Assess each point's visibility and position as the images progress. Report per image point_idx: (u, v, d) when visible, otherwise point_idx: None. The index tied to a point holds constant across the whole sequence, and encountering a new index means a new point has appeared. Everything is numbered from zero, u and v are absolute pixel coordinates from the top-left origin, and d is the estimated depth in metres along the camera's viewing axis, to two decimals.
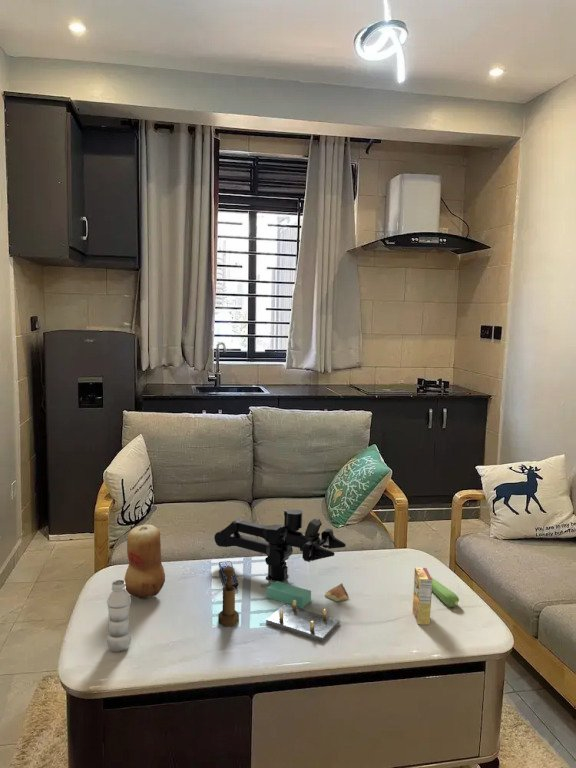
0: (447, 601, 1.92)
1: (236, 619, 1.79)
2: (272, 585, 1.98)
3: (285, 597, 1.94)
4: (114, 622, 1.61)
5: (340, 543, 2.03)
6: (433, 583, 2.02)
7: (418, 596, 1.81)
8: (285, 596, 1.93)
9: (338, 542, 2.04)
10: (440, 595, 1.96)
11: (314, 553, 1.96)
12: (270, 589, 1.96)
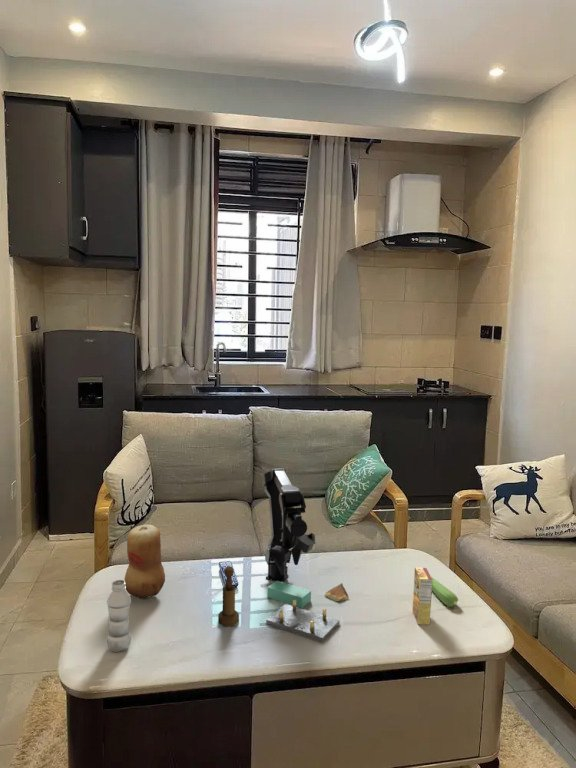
0: (446, 601, 1.92)
1: (236, 619, 1.79)
2: (272, 585, 1.99)
3: (284, 597, 1.94)
4: (114, 622, 1.61)
5: (296, 560, 1.99)
6: (433, 583, 2.03)
7: (418, 596, 1.81)
8: (285, 596, 1.93)
9: (297, 557, 1.99)
10: (439, 595, 1.96)
11: None
12: (270, 589, 1.97)
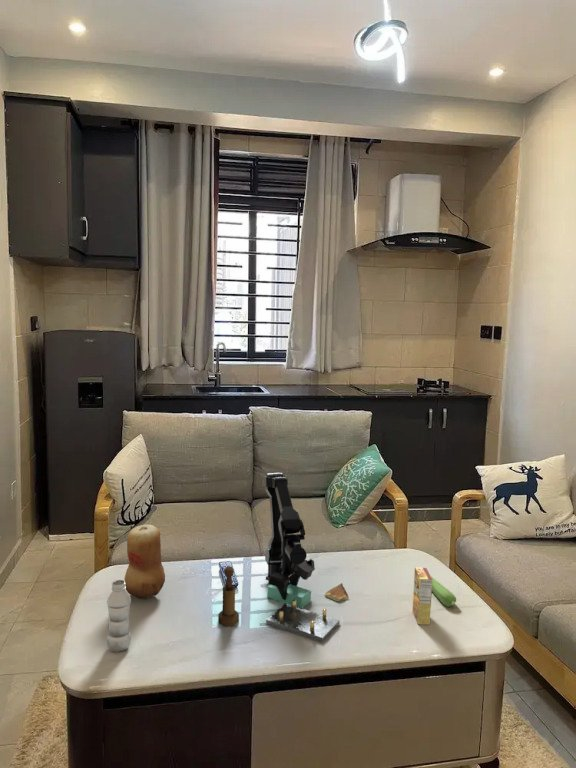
0: (444, 601, 1.93)
1: (236, 619, 1.79)
2: None
3: None
4: (114, 622, 1.61)
5: None
6: (432, 583, 2.03)
7: (418, 596, 1.81)
8: None
9: (295, 584, 1.99)
10: (438, 595, 1.96)
11: None
12: (270, 589, 1.97)
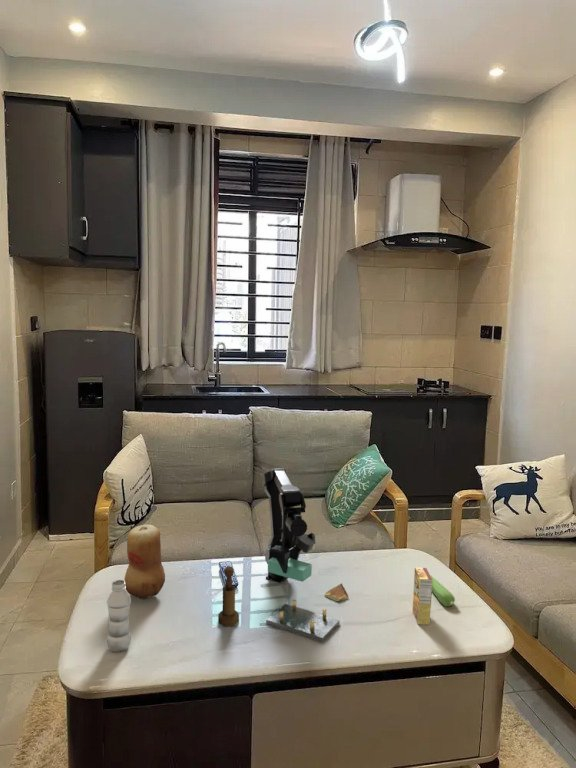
0: (443, 600, 1.93)
1: (236, 619, 1.79)
2: (273, 559, 1.97)
3: None
4: (114, 622, 1.61)
5: None
6: (432, 582, 2.03)
7: (418, 596, 1.81)
8: None
9: (295, 559, 1.97)
10: (437, 594, 1.97)
11: None
12: (270, 563, 1.96)
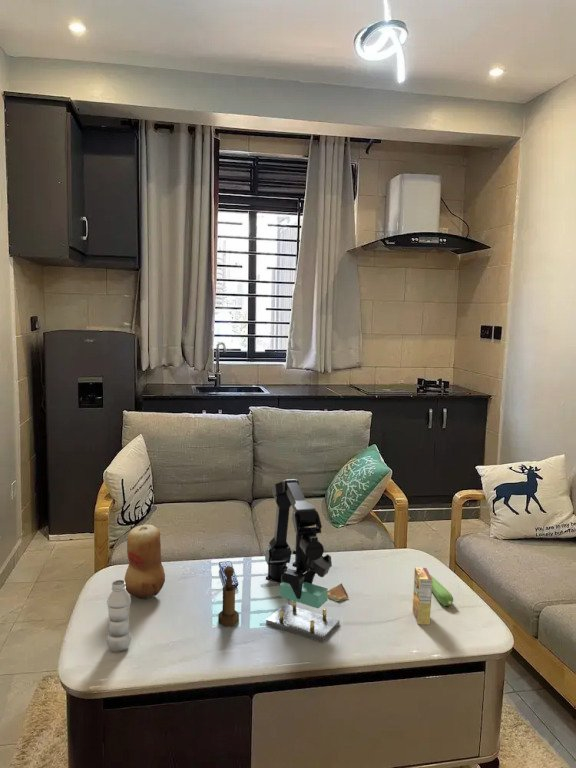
0: (441, 600, 1.93)
1: (236, 619, 1.79)
2: None
3: None
4: (114, 622, 1.61)
5: None
6: None
7: (418, 596, 1.81)
8: None
9: (309, 582, 1.81)
10: (436, 594, 1.97)
11: None
12: (282, 587, 1.79)
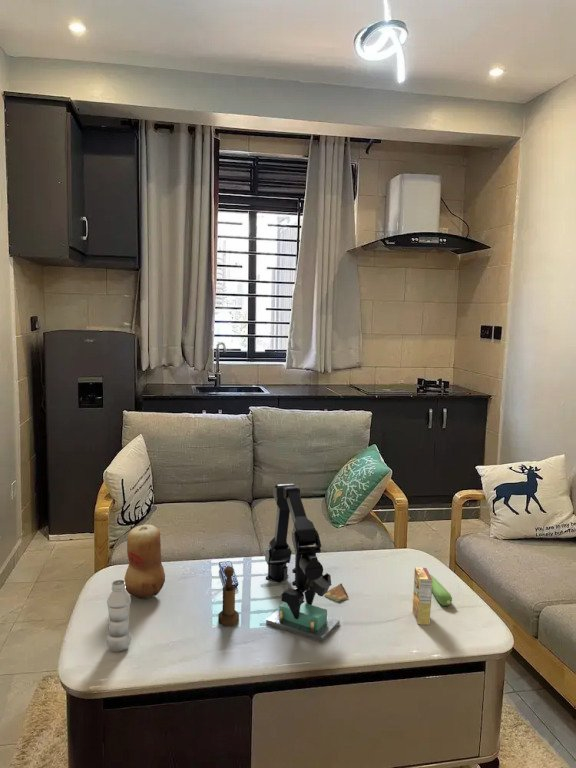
0: (440, 600, 1.93)
1: (236, 619, 1.79)
2: (284, 603, 1.82)
3: None
4: (114, 622, 1.61)
5: (310, 602, 1.83)
6: None
7: (418, 596, 1.81)
8: (299, 616, 1.77)
9: (310, 599, 1.83)
10: (435, 593, 1.97)
11: None
12: (282, 608, 1.80)
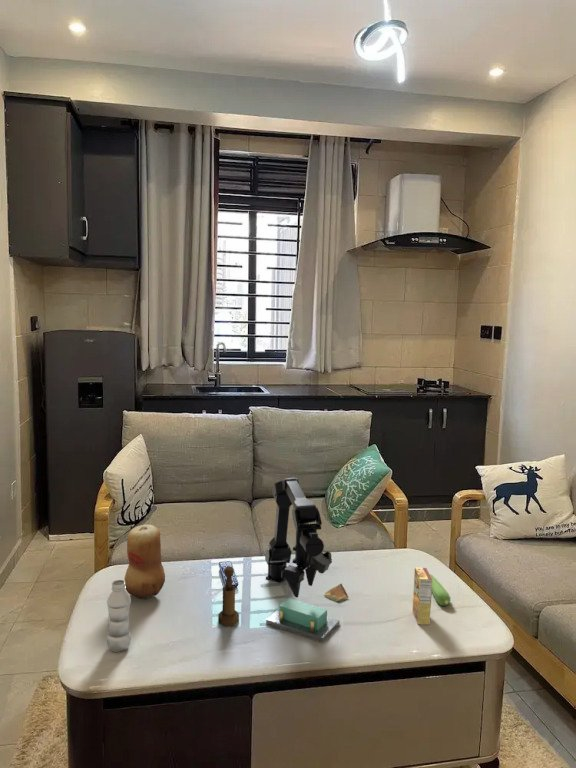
0: (438, 599, 1.93)
1: (236, 619, 1.79)
2: (284, 603, 1.82)
3: (298, 617, 1.77)
4: (114, 622, 1.61)
5: (311, 580, 1.83)
6: None
7: (418, 596, 1.81)
8: (299, 616, 1.77)
9: (311, 577, 1.83)
10: (434, 593, 1.97)
11: None
12: (282, 608, 1.80)
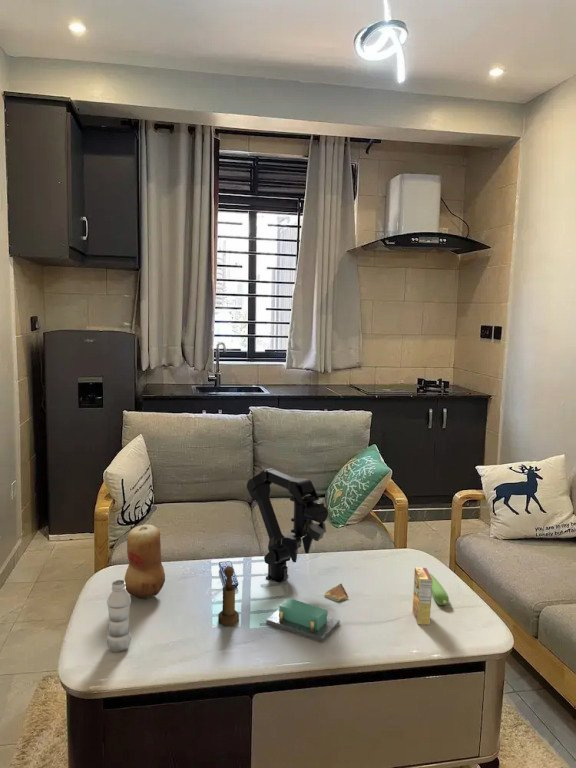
0: (436, 599, 1.94)
1: (236, 619, 1.79)
2: (284, 603, 1.82)
3: (298, 617, 1.77)
4: (114, 622, 1.61)
5: (307, 548, 2.05)
6: None
7: (418, 596, 1.81)
8: (299, 616, 1.77)
9: (308, 546, 2.05)
10: (432, 593, 1.98)
11: None
12: (282, 608, 1.80)
